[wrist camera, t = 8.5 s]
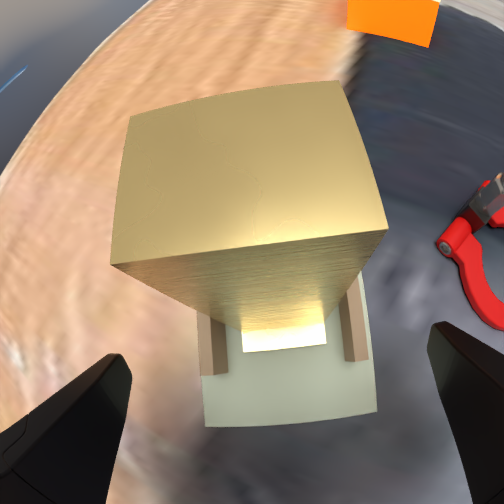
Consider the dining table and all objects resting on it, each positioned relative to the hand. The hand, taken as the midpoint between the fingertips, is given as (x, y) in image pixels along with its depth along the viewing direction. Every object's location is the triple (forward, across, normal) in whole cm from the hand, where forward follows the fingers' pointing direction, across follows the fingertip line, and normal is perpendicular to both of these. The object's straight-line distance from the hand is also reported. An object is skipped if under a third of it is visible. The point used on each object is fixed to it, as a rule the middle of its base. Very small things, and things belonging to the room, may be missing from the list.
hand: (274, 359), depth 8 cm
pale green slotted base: (+8, 0, +4) cm, 9 cm away
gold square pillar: (+8, 0, +3) cm, 8 cm away
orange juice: (+28, -15, -16) cm, 35 cm away
